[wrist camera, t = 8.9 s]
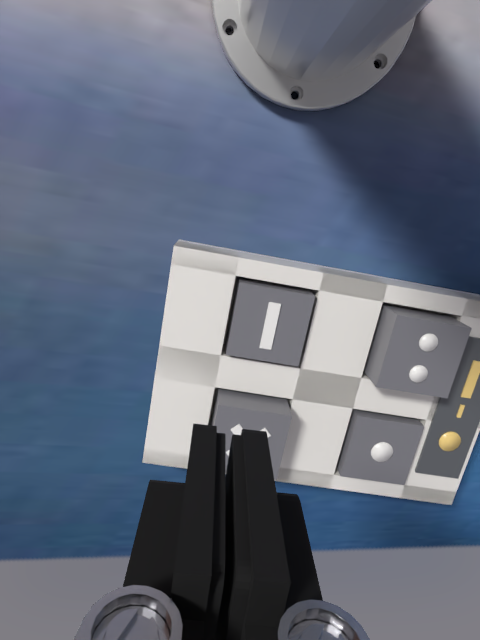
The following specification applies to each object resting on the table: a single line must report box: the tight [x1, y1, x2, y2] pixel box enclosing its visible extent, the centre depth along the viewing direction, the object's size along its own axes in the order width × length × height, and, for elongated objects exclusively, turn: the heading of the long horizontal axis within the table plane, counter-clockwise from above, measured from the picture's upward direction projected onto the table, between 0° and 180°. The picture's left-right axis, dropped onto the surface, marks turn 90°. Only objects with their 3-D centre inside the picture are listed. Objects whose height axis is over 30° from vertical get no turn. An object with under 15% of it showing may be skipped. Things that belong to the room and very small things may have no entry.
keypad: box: [142, 240, 480, 505], centre depth 33 cm, size 16×24×4 cm, turn 79°
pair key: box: [363, 303, 472, 398], centre depth 30 cm, size 5×5×3 cm
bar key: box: [226, 276, 315, 366], centre depth 31 cm, size 5×5×3 cm
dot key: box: [336, 409, 424, 485], centre depth 34 cm, size 5×5×3 cm
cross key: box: [211, 388, 292, 480], centre depth 32 cm, size 5×5×3 cm
